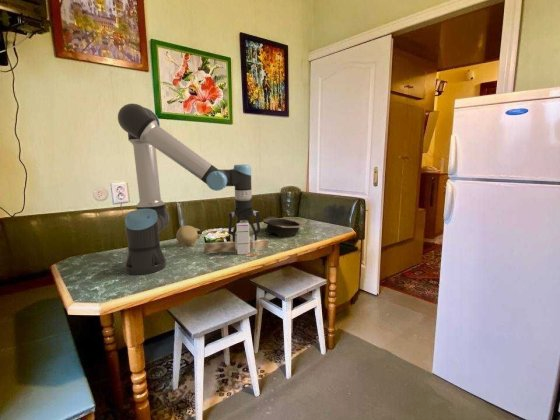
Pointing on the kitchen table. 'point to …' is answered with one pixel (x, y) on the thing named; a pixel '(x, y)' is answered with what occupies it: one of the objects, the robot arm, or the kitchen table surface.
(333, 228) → the kitchen table surface
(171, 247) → the kitchen table surface
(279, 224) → the stone bowl
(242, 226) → the syrup box
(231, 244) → the maple fence
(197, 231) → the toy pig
